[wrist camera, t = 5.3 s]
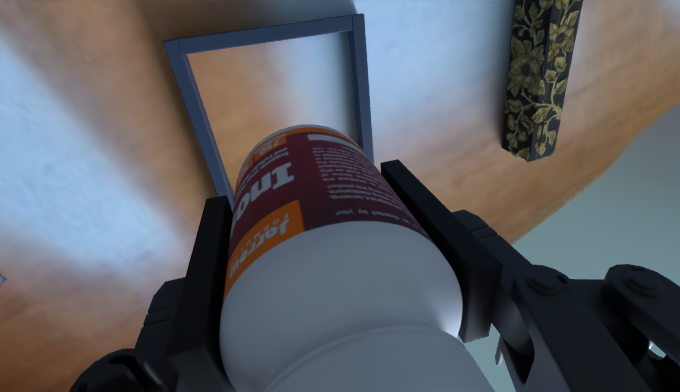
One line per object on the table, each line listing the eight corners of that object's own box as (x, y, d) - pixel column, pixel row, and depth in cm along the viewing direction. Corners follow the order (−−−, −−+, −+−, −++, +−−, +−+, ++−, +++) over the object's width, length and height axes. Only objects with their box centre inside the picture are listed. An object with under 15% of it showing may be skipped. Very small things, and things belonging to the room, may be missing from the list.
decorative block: (520, -80, 20) (568, -98, 17) (554, -86, 20) (607, -105, 17) (498, 148, 27) (528, 164, 24) (523, 142, 28) (556, 156, 25)
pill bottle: (255, 100, 12) (259, 356, 3) (389, 143, 15) (626, 365, 5) (222, 228, 15) (166, 592, 5) (341, 248, 17) (447, 528, 8)
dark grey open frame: (166, 40, 18) (161, 41, 17) (358, 13, 20) (364, 13, 19) (233, 228, 25) (232, 237, 24) (372, 197, 27) (377, 204, 26)
